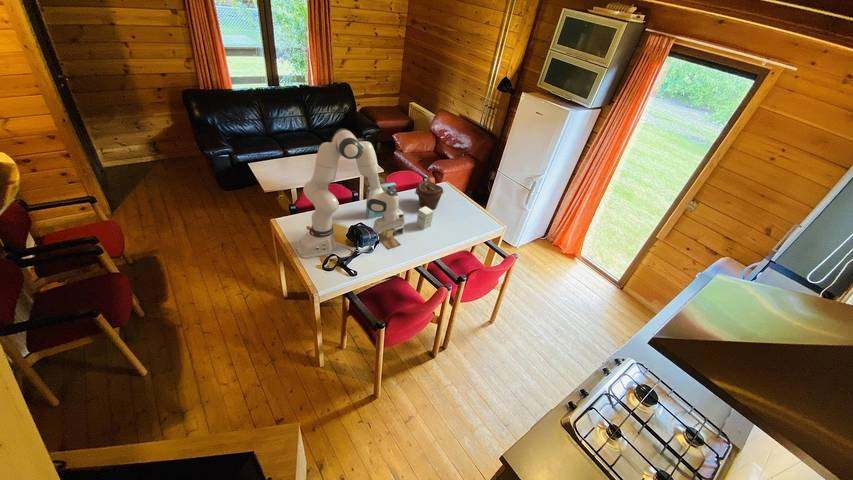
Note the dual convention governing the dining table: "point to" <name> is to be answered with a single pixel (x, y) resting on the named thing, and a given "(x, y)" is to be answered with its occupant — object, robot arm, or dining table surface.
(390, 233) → the yellow block
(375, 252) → the dining table surface
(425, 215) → the supplement box
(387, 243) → the brown wooden board
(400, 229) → the dispenser
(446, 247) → the dining table surface
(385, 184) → the gum box
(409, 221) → the dining table surface
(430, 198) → the brown plant pot
